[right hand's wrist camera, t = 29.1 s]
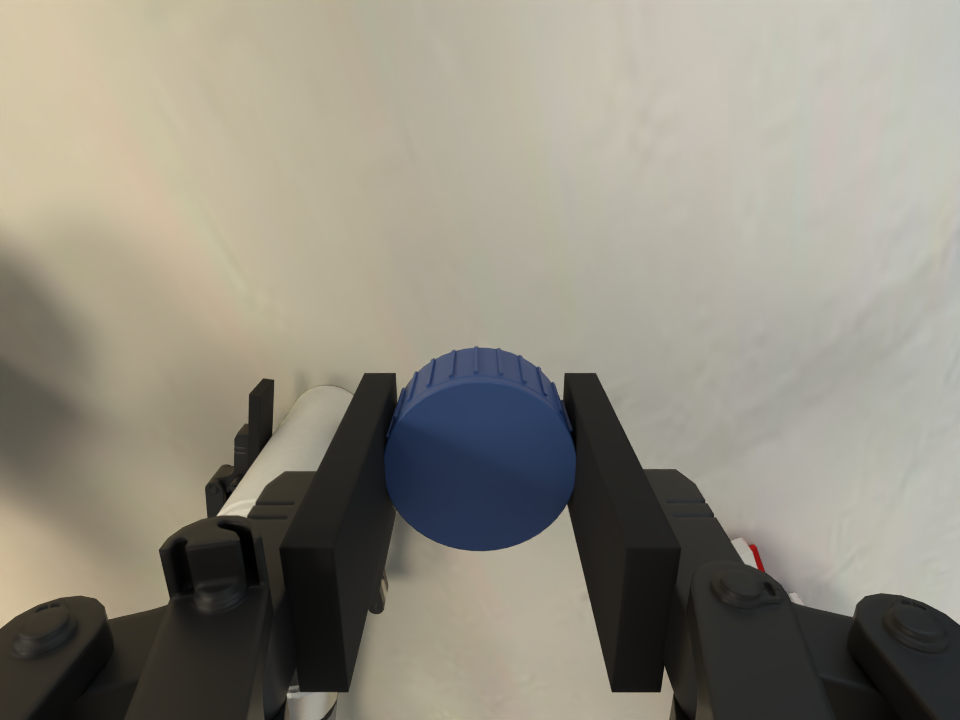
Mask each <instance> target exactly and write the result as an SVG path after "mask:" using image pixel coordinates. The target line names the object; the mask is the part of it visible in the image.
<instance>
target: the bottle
mask: <svg viewBox="0 0 960 720" xmlns="http://www.w3.org/2000/svg"><path fill="white" fill-rule="evenodd" d="M352 398H353V395H352V394H351V393H350V392H348V391H346V390H344V389H342V388H339V387H336V386H327V385H325V386H317V387H314V388H311V389H309V390H307V391H306V392H304V393H303V394H302V395H301V396H300V397H299V398H298V399H297V401H296V402H295V404H294V405H293V406H292V408H291V409H290V411H289V412H288V414H287V415H286V417H285V418H284V419H283V421H282V422H281V424H280V425H279V427H278V428H277V430H276V431H275V432H274V434H273V435H272V437H271V438H270V440H269V441H268V443H267V444H266V445H265V447H264V448H263V450H262V451H261V453H260V454H259V455H258V457H257V458H256V460H255V461H254V463H253V464H252V466H251V467H250V468H249V470H248V471H247V473H246V474H245V476H244V477H243V479H242V480H241V481H240V483H239V484H238V486H237V487H236V489H235V490H234V492H233V493H232V494H231V496H230V497H229V499H228V500H227V502H226V503H225V505H224V506H223V507H222V509H221V510H220V512H219V513H218V515H217V516H220V515H239V516H243V517H246V518H247V515H248V513H249V512H250V510H251V509H252V507H253V505H255V504H256V500H257V499H258V497H259V496H260V494H261V492H262V491H263V489H264V487H265V486H266V485H267V484H268V483H270V482H271V481H272V480H274V479H275V478H276V477H278V476H279V475H280V474H282V473H283V472H284V471H317V469H318V467H319V465H320V463H321V461H322V459H323V457H324V455H325V453H326V451H327V449H328V447H329V445H330V443H331V441H332V439H333V437H334V435H335V433H336V431H337V429H338V426H339V424H340V422H341V420H342V418H343V416H344V414H345V412H346V410H347V408H348V406H349V404H350V402H351V400H352Z"/></svg>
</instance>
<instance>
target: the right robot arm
mask: <svg viewBox="0 0 960 720" xmlns="http://www.w3.org/2000/svg"><path fill="white" fill-rule="evenodd" d="M563 401H564V404H565V407H566V410H567V413H568V417H569V420H570V423H571V426H572V429H573V433H571V435H572V438H573V442H574V445H575V449H576V469H575V484H574V490H573V492H572V495H571V497H570V500H569V501H568V503H567V505H568V509H569V513H570V518H571V522H572V526H573V530H574V534H575V539H576V543H577V547H578V551H579V555H580V560H581V564H582V568H583V572H584V577H585V581H586V585H587V589H588V593H589V598H590V602H591V606H592V610H593V615H594V619H595V623H596V627H597V631H598V636H599V640H600V644H601V648H602V653H603V657H604V661H605V665H606V669H607V674H608V678H609V682H610V686H611V690H612V692H661V686H662V679H663V672H664V665H665V668H666V671H667V674H668V677H669V680H670V682H671V685H672V688H673V691H674V694H673V700H672V707H671V713H670V720H960V625H959V624H957V623H956V622H955V621H954V620H952V619H951V618H950V617H948V616H947V615H946V614H944V613H942V612H940V611H938V610H937V609H935V608H933V607H931V606H929V605H927V604H925V603H923V602H920V601H917V600H913V599H911V598H907V597H904V596H901V595H892V594H883V593H880V594H875V595H869V596H865V597H864V598H863V599H862V600H861V601H860V602H859V603H858V604H857V605H856V609H855V612H854V616H853V617H849V616H844V615H840V614H836V613H831V612H827V611H823V610H818V609H814V608H810V607H806V606H803V605H800V604H796V603H794V602H791V600H790V597H789V596H788V594H787V593H786V591H785V590H784V588H783V587H782V585H781V584H779V583H778V582H777V581H776V580H774V579H773V578H772V577H771V576H769V575H768V574H767V573H765V572H763V571H760V570H758V569H756V568H754V567H752V566H750V565H746V564H745V563H744V562H743V560H742V559H741V557H740V555H739V554H738V552H737V551H736V549H735V547H734V546H733V544H732V543H731V541H730V539H729V538H728V536H727V534H726V533H725V531H724V530H723V528H722V526H721V525H720V523H719V522H718V520H717V518H714V514H713V512H712V510H711V509H710V507H709V505H708V504H707V503H705V499H704V497H703V496H702V494H701V493H700V491H699V489H698V488H697V486H696V484H695V483H693V482H692V481H691V480H689V479H688V478H687V477H685V476H684V475H683V474H681V473H680V472H679V471H677V470H676V469H642V466H641V464H640V462H639V460H638V458H637V456H636V454H635V452H634V450H633V448H632V446H631V444H630V442H629V440H628V438H627V436H626V434H625V432H624V430H623V428H622V426H621V424H620V422H619V420H618V418H617V415H616V413H615V411H614V409H613V407H612V405H611V403H610V401H609V399H608V397H607V395H606V393H605V391H604V389H603V387H602V385H601V383H600V381H599V379H598V377H597V375H596V373H565V376H564V395H563ZM396 406H397V388H396V373H364V375H363V377H362V380H361V382H360V384H359V386H358V388H357V390H356V392H355V394H354V396H353V398H352V400H351V402H350V404H349V406H348V408H347V410H346V412H345V414H344V416H343V418H342V420H341V422H340V424H339V426H338V429H337V431H336V433H335V435H334V437H333V439H332V441H331V443H330V445H329V447H328V449H327V451H326V453H325V455H324V457H323V459H322V461H321V463H320V465H319V467H318V469H317V471H284V472H283V473H282V474H280V475H279V476H278V477H276V478H275V479H274V480H272V481H271V482H270V483H268V484H267V485H266V486H265V487H264V489H263V491H262V492H261V494H260V496H259V497H258V499H257V500H256V504H255V505H253V507H252V509H251V510H250V512H249V513H248V515H247V518H246V517H243V516H239V515H220V516H216V517H211V518H206V519H202V520H199V521H197V522H195V523H192V524H190V525H187V526H185V527H183V528H182V529H180V530H179V531H177V532H176V533H174V534H173V535H172V536H170V537H169V538H168V539H167V540H166V541H165V543H164V544H163V545H162V547H161V548H160V549H159V553H160V557H161V562H162V566H163V570H164V575H165V579H166V583H167V588H168V592H169V596H170V601H169V603H168V605H166V606H162V607H159V608H156V609H152V610H149V611H144V612H140V613H135V614H131V615H127V616H122V617H118V618H114V619H109V620H108V618H107V614H106V610H105V607H104V606H103V605H102V604H101V603H100V602H99V601H98V600H97V599H95V598H89V597H84V596H73V597H64V598H59V599H55V600H52V601H49V602H46V603H43V604H40V605H37V606H35V607H33V608H32V609H30V610H28V611H26V612H24V613H22V614H20V615H18V616H16V617H15V618H14V619H12V620H11V621H10V622H8V623H7V624H6V625H5V626H3V627H2V628H1V629H0V720H290V714H289V707H288V700H287V692H288V689H289V687H290V684H291V681H292V678H293V675H294V672H295V669H297V676H298V683H299V690H300V692H349V688H350V684H351V679H352V675H353V671H354V667H355V663H356V658H357V654H358V650H359V646H360V641H361V637H362V633H363V629H364V625H365V620H366V616H367V612H368V608H369V603H370V599H371V595H372V591H373V587H374V582H375V578H376V574H377V570H378V566H379V561H380V557H381V553H382V549H383V544H384V540H385V536H386V532H387V528H388V523H389V519H390V515H391V511H392V506H393V503H392V501H391V499H390V497H389V495H388V492H387V489H386V479H385V463H384V450H385V446H386V443H387V433H388V430H389V427H390V424H391V420H392V417H393V414H394V411H395V408H396Z"/></svg>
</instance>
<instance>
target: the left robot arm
mask: <svg viewBox="0 0 960 720" xmlns="http://www.w3.org/2000/svg"><path fill="white" fill-rule="evenodd" d="M273 399H274V380H271V379H264V378H263V379H262V380H261V382H260V383H259V384H258V385H257V386H256V387H255V388H254V389H253V391H252V392H251V393H250V394H249V424H245V425H244V426H243V427H242V428H241V429H240V431H239V432H238V433H237V435H236V437H235V443H234V446H235V447H234V451H235V452H234V466H231V465H227V464H226V465H222V466H221V467H220V468H219V470H218V471H217V472H216V473H215V475H214V476H213V477H212V479H211V480H210V481H209V483H208V484H207V485H206V487H205V492H206V504H207V516H208V518H211V517H216V516H217V515H218V513H219V512H220V510H221V509H222V507H223V506H224V505H225V503H226V502H227V500H228V499H229V497H230V496H231V494H232V493H233V492H234V490H235V489H236V487H237V486H238V484H239V483H240V481H241V480H242V479H243V477H244V476H245V474H246V473H247V471H248V470H249V468H250V467H251V466H252V464H253V463H254V461H255V460H256V458H257V457H258V455H259V454H260V453H261V451H262V450H263V448H264V447H265V445H266V444H267V443H268V441H269V440H270V438H271V437H272V425H273ZM396 510H397V509H396V508H395V506H394V505H393V506H392V511H391V515H390V519H389V523H388V528H387V532H386V536H385V540H384V544H383V549H382V553H381V557H380V561H379V566H378V570H377V574H376V578H375V582H374V587H373V591H372V595H371V599H370V603H369V608H368V609H369V611H370V612H371V613H373V614H379V613H381V612H383V610H384V605H385V600H386V596H387V591H388V581H387V577H386V573H385V563H386V558H387V553H388V548H389V544H390V539H391V534H392V529H393V525H394V520H395V515H396ZM337 697H338V692H300V690H299V683H298V676H297V669H295V672H294V675H293V678H292V681H291V684H290V687H289V689H288V692H287V700H288V707H289V714H290V720H335V717H336V705H337Z"/></svg>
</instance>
